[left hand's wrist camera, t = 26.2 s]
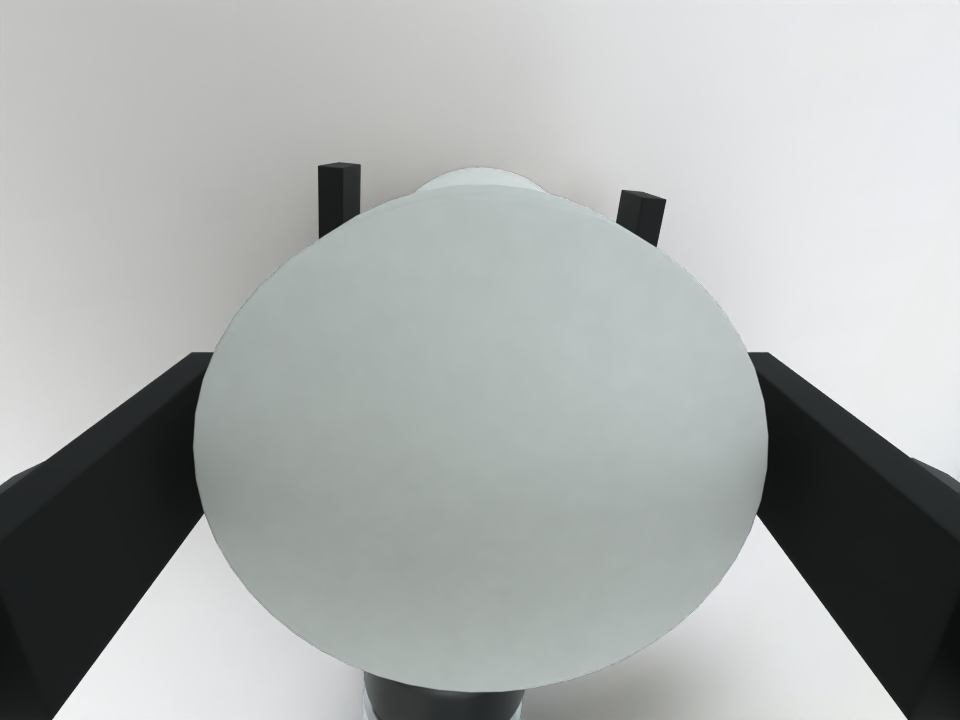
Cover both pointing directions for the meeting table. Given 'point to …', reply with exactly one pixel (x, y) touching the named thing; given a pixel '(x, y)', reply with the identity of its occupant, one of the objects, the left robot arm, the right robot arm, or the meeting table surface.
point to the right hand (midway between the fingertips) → (492, 180)
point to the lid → (480, 441)
